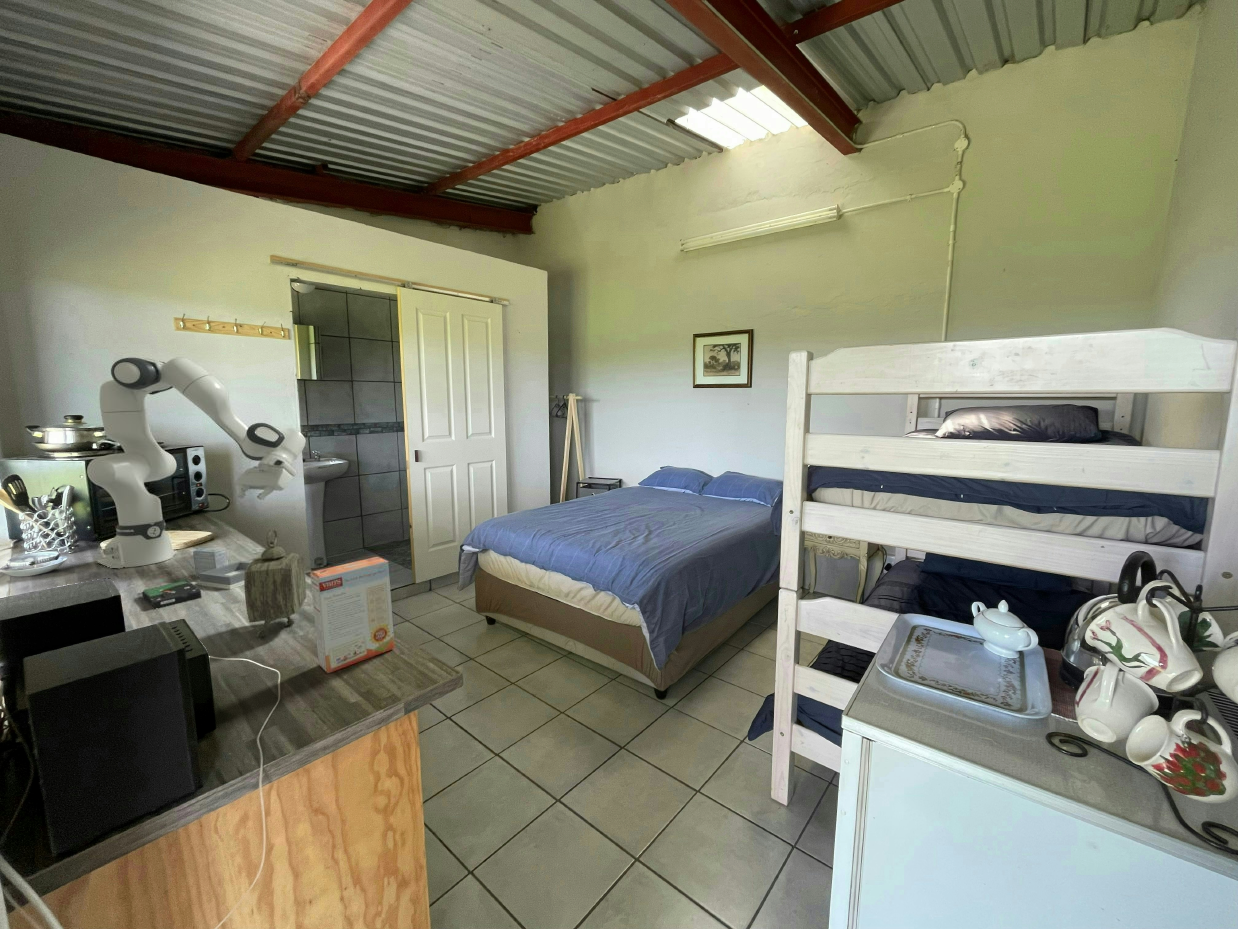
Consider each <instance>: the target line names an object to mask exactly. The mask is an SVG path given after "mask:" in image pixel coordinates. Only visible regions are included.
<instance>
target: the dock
mask: <svg viewBox="0 0 1238 929" xmlns="http://www.w3.org/2000/svg"><path fill="white" fill-rule="evenodd" d="M251 562H252V561H248V560H247V561H245V560H240V561H235V562H233V563H228V565H225V566H222V567H219V568H215V569H212V570H209V571H206V572H202V573H199V576H198V577H199V580H198V581H196V582H195V583H196V585H197V586H203V587H208V588H209V587H210V588H217V589H225V590H232V589H236V588H238V587H241V586H244V575H245V570H246V568H247V566H248V565H249V564H250V563H251Z"/></svg>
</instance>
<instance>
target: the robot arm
mask: <svg viewBox="0 0 1238 929" xmlns="http://www.w3.org/2000/svg"><path fill="white" fill-rule="evenodd" d="M110 375H111V377H112V380H111V379H110V380H107V381H105V382H103V383H102V384H101V386H100V389H99V409H100V414H101V419H102V424H103V429H104V431H103V432H104V434H105V436H106V438H108V439H109V440H112V441H114V442H116V443H117V444H119V445H120V447H121V448H122V449H123V451H124V452H123V453H122V452H121V453H113V454H112V453H111V454H110V453H109V454H107V455H103V456H100V457H97V458H94V459H92V460H90V461H89V464H88V465H87V469H86V472H87V476H88V478H89V480H90V481H91V482H92V483H93V484H95V485H96V486H99V487H101V488H102V489H104V490H105V491H106V492H107V493H108V494H109V495H110V497H111V498H112V500H113V501H114V504H115V508H116V513H117V514H116V515H117V520H118V524H117V525H115V526H114V527H115V528H114V529H115V530H116V532H115V534H116V535H115V536H114V538H112V539H111V540H110V541H109V542H108V543H106V545H105V546H104V548H103V550H102V553H103V555H104V557H103V558H99V559H97V560H96V561H98V562H100V563H102V564H104V565H107V566H109V567H111V568H118V569H124V568H123V567H125V568H134V567H141V566H146V565H147V566H148V565H153V564H156V563H157V564H158V563H161V562H164V561H168V560H170V559H172V558H173V557H174V556H175V555H177V554H178V552H177V550H174V547H173V542H172V540H171V536H170V533H169V532H167V531H166V522H165V519H164V518H163V511H162V503H161V502H162V501H161V499H160V497H158V495H155V494H152V493H150V492H149V491H148V489H147V488H146V486H145V483H148V482H156V481H160V480H163V479H165V478H167V477H170V476H172V475H174V473H175V472H176V470H177V461H176V459H175V457H174V456H173V455H172V454H170V453H169V452H167V451H165V450H164V449H163V448H162V447H161V446H160V445H159V443H158V442H157V441H156V440H155V438H154V435H153V434H152V431H151V428H150V424H149V423H150V422H149V417H148V412H147V408H146V403H145V402H146V397H147V395H156V394H159V393H162V392H163V393H164V392H166V391H169V390H171V389H176V391H177V392H179V393H180V394H181V395H182V396H183V397H185V398H186V399H187V400H188V401H190V402H191V403H192V404H194V405H195V406H196V407H197V408H198V409H199V410H201V411H202V412H203V413H204V414H206V415H207V416H208V417H209V419H211V420H212V421H213V422H214V423H215V424H216V425H218V427H219V428H220V429H222V430H223V431H224V432H225V433H226V434H227V435H228V436H229V437H230V438H232V440H233V441H235V443H236V444H237V446H239V449H240V451H241V453H242V454H243V456H244V457H245V458H246V459H248V460H252V461H255V462H258V464H257V466H256V465H254V466H253V467H250V468H247V469H246V470H244V471H243V472H242V473H241V474H240V475H239V476H238V477H237V478H236V479H235V482H234V484H235V486H237V487H239V489H238V492H237V494H236V497H237V498H238V499H243V500H244V499H245V497H246V496H247V494H246V493H247V492H248V491H249V490H254V491H255V490H256V491H257V490H258V491H262V492H259V493H258V495H257V496H256V498H257V499H258V500H260V501H261V500H262V501H264V500H265V498H267V497H268V496H269V495H271V494H272V493H273V492H274V491H279V492H280V491H283V490H285V489H286V488H287V487H288V485H289V484H290V483H291V481H292V480H293V478H294V477H295V476H296V475H297V473H298V472H297V471H296V469H295V468H293V467H292V464H293V462H294V461H295V460H297V459H298V457H299V456H300V455H301V454H302V452H303V451H304V448H305V446H306V441H307V440H306V438H305V436H304V435H303V434H302V432H300V431H299V430H298V429H295V428H281V427H276V426H273V425H271V424H268V423H266V422H257V423H253V424H252V425H249V426H248V425H246V424H245V423H244V422H243V421H242V420H241V419H240V418H239V417H238V416H236V414H235V413H234V411H233V408H232V406H231V402H230V396H229V392H228V390H227V389H226V387H225V386H224V385H223V383H221V382H220V380H218V379H217V378H216V377H215V376H214V375H212V374H211V373H210V372H209V371H208V370H206V369H205V368H204V367H202V366H200V365H199V364H198V363H196V362H194V361H192V360H191V359H189V358H186V357H179V356H178V357H175V358H172V359H170V360H168V361H166V362H164V361H158V360H155V359H151V358H139V357H125V358H121V359H119V360H117V361H115V362H114V363H113V364H112V366H111V368H110ZM111 568H110V569H111Z"/></svg>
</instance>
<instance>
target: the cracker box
mask: <svg viewBox="0 0 1238 929" xmlns="http://www.w3.org/2000/svg"><path fill="white" fill-rule="evenodd" d="M389 571H390V570H389V560H387V559H384V558H382V557H380V556H373V557H370V558H366V559H361V560H357V561H353V562H348V563H345V564H341V565H340V564H339V565H336V566H331V567H327V568H322V569H318V570H315V571H310V573H309V574H310V584H311V585H310V586H311V596H312V605H313V616H314V627H315V635H316V636H315V638H316V647H317V650H316V651H317V656H318V657H317V660H318V665H319V666H320V667H321V669H323V671H325V672H326V673H327V674H330V673H333V672H336V671H338V670H341V669H344V668H346V667H349V666H351V665H354V664H357V663H359V662H362V661H365V660H367V659H370V658H373V657H376V656H378V655H381V654H383V653H386V652H388V651H391V650H394V649H395V641H394V640H395V639H394V637H395V636H394V625H393V610H392V609H393V608H392V598H391V596H392V595H391V584H390V583H391V582H390V581H391V580H390V572H389ZM392 632H393V633H392Z"/></svg>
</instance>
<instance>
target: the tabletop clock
mask: <svg viewBox="0 0 1238 929" xmlns="http://www.w3.org/2000/svg"><path fill="white" fill-rule="evenodd" d="M272 532H273V533H274V539H272V540H270V536H271V534H272ZM277 542H278V531H277V529H275V528H271V529H270V530H268V532H267V534H266V545H267V547H268V548H266V549H264V550H263V551H262V553H261V555H259V556H257V557H255V558H253V559H252V560H251V561H250V562H251V563H250V564H249V565H248V566H247V568H246V570H245V575H244V585H243V586H244V599H245V600H244V601H245V608H246V614H247V620H248V622H249V623H257V622H264V623H263V626H262V628H261V630H260V631H257V633H256V637H257V638H260V639H261V638H263V637H265V634H266V632H265V631H266V629H267V627H268V625H269V624H270V623H271V621H273V620H280V619H287V621H286V625H287V626H292V625H294V623H295V619H292V618H291V617H292V616H294V614H297V613H298V612H299V611H300V609H301V608H302V606H303V605H304V603H305V601H306V598H307V581H306V568H305V560H304V556H303V555H301V554H298V553H296V552H292V553H291V552H290V553H287V552H285V550H284V548H283V547H281V546H276V544H277Z"/></svg>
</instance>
